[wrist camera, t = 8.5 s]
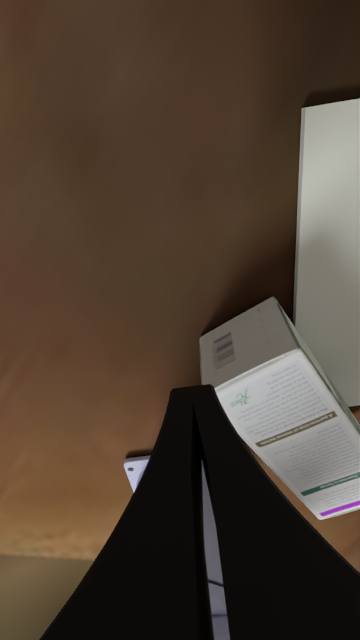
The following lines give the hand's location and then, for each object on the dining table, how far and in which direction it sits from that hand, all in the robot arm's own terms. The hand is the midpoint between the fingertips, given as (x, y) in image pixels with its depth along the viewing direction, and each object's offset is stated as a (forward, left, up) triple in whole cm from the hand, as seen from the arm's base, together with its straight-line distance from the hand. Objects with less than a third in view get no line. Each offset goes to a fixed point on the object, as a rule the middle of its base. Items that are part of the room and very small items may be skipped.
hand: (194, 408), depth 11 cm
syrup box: (-2, -3, -7) cm, 8 cm away
